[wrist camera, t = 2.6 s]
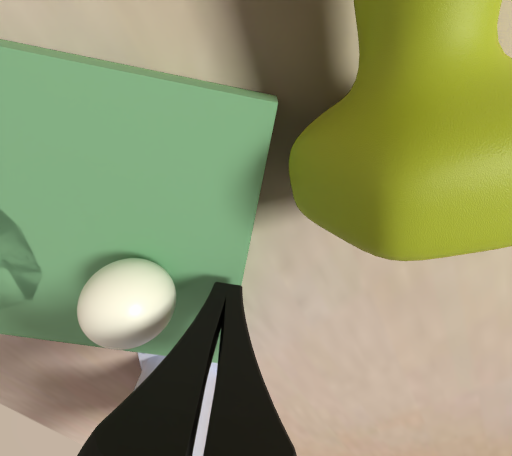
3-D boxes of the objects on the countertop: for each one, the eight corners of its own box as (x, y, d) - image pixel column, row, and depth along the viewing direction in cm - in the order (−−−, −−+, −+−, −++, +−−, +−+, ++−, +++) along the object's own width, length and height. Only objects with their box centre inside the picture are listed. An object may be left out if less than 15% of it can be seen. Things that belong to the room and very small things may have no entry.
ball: (186, 300, 14) (160, 372, 10) (117, 289, 14) (68, 361, 10) (186, 248, 12) (153, 320, 8) (103, 234, 11) (35, 303, 8)
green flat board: (229, 333, 20) (225, 364, 18) (-57, 292, 19) (-98, 320, 17) (276, 95, 10) (278, 103, 8) (-345, -32, 8) (-542, -64, 6)
